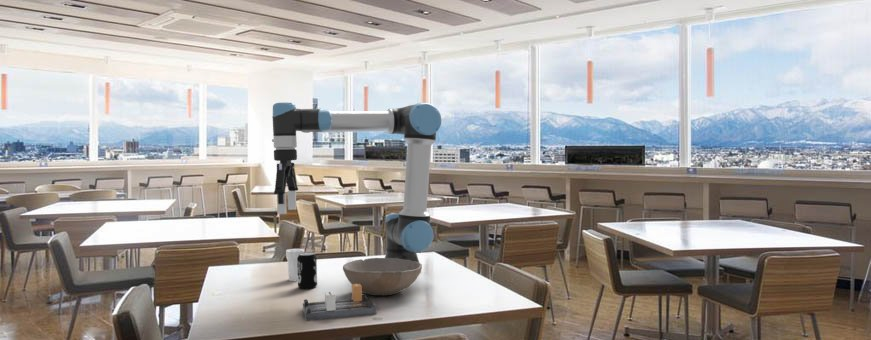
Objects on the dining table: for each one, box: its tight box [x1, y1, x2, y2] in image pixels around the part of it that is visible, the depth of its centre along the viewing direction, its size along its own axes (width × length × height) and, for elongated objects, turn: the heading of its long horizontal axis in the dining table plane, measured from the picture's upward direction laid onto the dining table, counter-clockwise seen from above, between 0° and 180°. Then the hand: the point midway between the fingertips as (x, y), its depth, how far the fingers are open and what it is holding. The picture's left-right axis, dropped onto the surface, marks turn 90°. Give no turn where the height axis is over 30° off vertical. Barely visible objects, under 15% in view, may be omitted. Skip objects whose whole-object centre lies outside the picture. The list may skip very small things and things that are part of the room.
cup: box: [285, 248, 305, 282], centre depth 222 cm, size 7×7×11 cm
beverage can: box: [297, 251, 318, 290], centre depth 208 cm, size 7×7×12 cm
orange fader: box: [351, 284, 363, 301], centre depth 181 cm, size 2×4×5 cm
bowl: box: [342, 257, 423, 296], centre depth 198 cm, size 26×26×10 cm
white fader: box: [324, 291, 336, 311], centre depth 171 cm, size 2×4×5 cm
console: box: [302, 294, 378, 321], centre depth 176 cm, size 20×12×3 cm, turn 107°
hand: (287, 211), depth 201 cm, fingers open, 13 cm apart
